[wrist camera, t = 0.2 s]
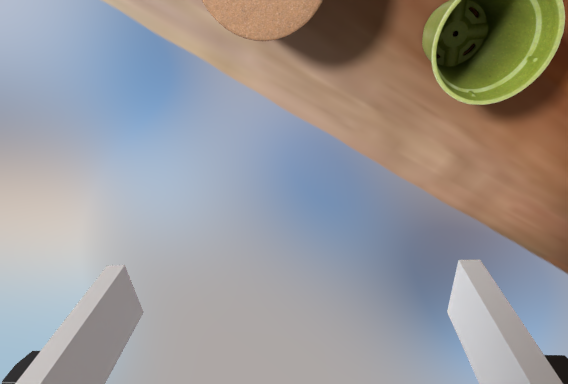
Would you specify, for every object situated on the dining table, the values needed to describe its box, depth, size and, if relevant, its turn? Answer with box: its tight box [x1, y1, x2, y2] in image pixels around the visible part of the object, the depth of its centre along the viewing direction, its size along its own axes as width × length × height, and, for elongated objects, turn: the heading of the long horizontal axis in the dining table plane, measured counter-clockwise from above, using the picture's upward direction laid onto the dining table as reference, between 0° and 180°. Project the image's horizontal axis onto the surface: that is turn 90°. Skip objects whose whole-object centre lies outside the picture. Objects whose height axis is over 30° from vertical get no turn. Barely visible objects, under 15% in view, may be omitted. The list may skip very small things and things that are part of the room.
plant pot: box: [422, 0, 565, 105], centre depth 29 cm, size 9×9×9 cm
